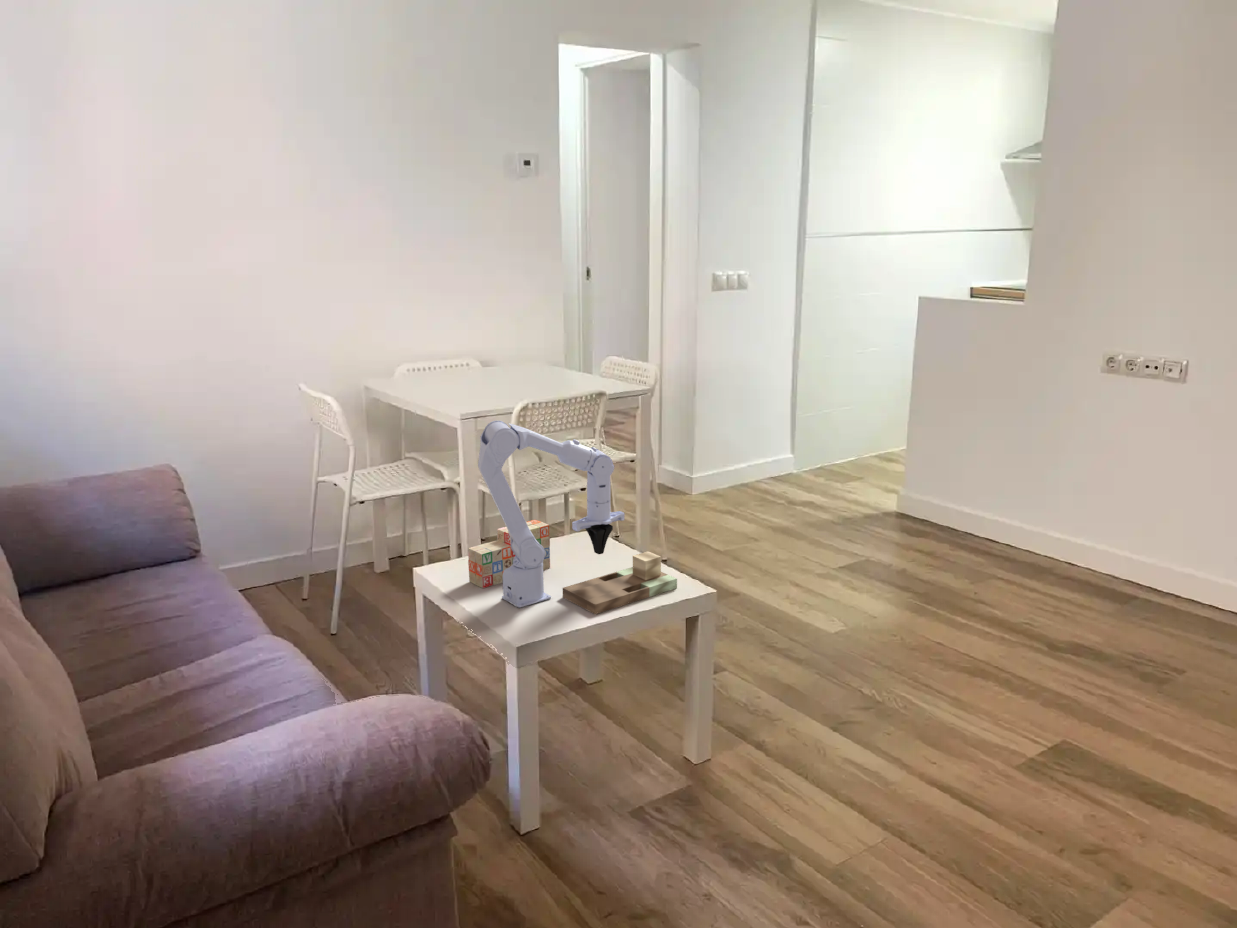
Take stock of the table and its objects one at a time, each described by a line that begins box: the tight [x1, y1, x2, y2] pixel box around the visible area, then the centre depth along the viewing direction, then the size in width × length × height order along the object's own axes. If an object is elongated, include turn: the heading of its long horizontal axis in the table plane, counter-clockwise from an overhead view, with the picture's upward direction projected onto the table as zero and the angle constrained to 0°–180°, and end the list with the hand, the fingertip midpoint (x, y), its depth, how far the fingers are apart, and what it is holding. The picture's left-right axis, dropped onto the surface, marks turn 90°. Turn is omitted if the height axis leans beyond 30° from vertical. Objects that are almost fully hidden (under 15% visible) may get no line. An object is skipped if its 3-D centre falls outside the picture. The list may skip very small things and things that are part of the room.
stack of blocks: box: [467, 519, 551, 589], centre depth 247 cm, size 21×6×12 cm, turn 132°
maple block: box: [632, 551, 662, 580], centre depth 240 cm, size 5×5×5 cm
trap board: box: [562, 566, 678, 615], centre depth 236 cm, size 26×13×2 cm, turn 129°
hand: (598, 552), depth 237 cm, fingers closed
